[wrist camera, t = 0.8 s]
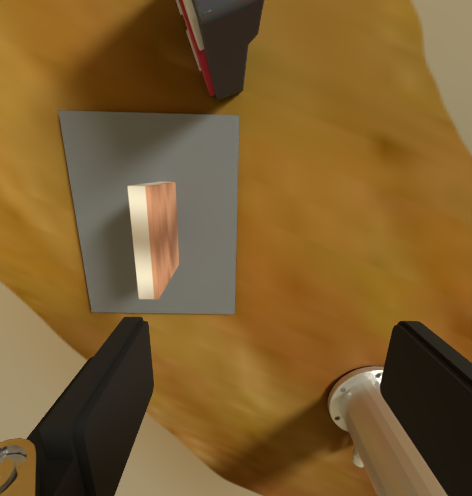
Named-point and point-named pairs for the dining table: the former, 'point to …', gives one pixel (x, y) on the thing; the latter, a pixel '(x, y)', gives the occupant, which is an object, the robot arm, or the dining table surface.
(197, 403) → the dining table surface
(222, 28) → the grey and red box
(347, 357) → the dining table surface
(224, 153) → the mat
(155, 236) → the tile
